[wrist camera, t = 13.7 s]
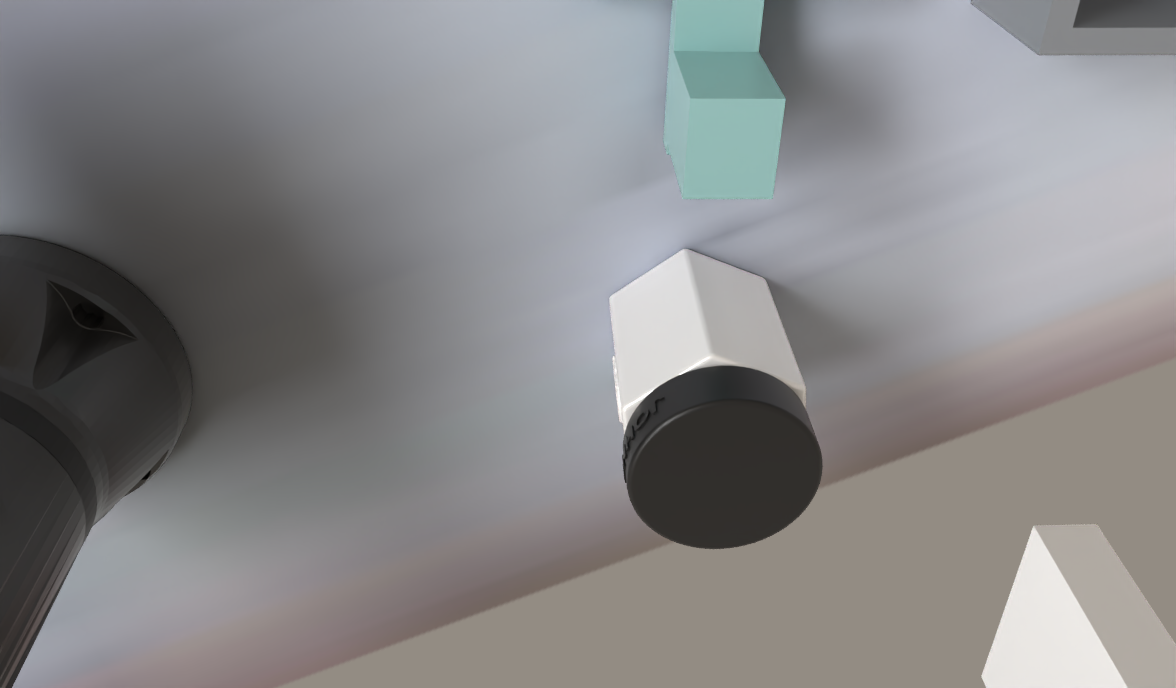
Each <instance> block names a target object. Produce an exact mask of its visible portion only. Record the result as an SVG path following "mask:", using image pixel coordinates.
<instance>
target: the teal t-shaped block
mask: <svg viewBox="0 0 1176 688" xmlns="http://www.w3.org/2000/svg"><path fill="white" fill-rule="evenodd" d="M763 8H764V0H672V11H671V27H670V43H669V59H668V74H667V90H666V106H665V122H664V138H663V142H664V146H665V150H666V153H667V155H671V158H672V162H673V166H674V169H675V173H676V177H677V180H678V184H679V188H680V191H681V195H682V199H773V193H774V185H775V177H776V170H777V162H778V155H779V147H780V139H781V132H782V124H783V116H784V109H785V101H786V98H785V97H784V95H783V93H782V91H781V90H780V88H779V86H778V85H777V83H776V81H775V79H774V78H773V76H772V74H771V72H770V71H769V69H768V67H767V65H766V64H765V62H764V60H763V59H762V57H761V55H760V53H759V44H760V35H761V26H762V17H763Z"/></svg>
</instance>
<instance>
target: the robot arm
mask: <svg viewBox="0 0 1176 688" xmlns="http://www.w3.org/2000/svg"><path fill="white" fill-rule="evenodd" d="M191 402H192V379H191V372H190V367H189V364H188V360H187V357H186V354H185V352H184V349H183V347H182V345H181V343H180V341H179V339H178V337H177V335H176V334H175V332H174V330H173V329H172V327H171V326H170V324H169V323H168V321H167V320H166V319H165V317H164V316H163V315H162V314H161V312H160V311H159V310H158V309H157V308H156V307H155V306H154V305H153V303H152V302H151V301H150V300H149V299H148V298H147V297H145V296H144V295H143V294H142V293H141V292H140V291H139V290H138V289H136V288H135V287H134V286H133V285H132V284H130V283H129V282H128V281H126V280H125V279H124V278H122V277H121V276H119V275H118V274H116V273H115V272H113V271H112V270H110V269H108V268H107V267H105V266H103V265H101V264H100V263H98V262H96V261H94V260H92V259H90V258H88V257H86V256H83V255H81V254H79V253H76V252H74V251H71V250H69V249H66V248H63V247H60V246H57V245H54V244H50V243H47V242H43V241H38V240H34V239H29V238H22V237H15V236H3V235H0V688H12V686H13V684H14V682H15V680H16V678H17V676H18V674H19V672H20V670H21V668H22V666H23V664H24V662H25V660H26V658H27V656H28V654H29V652H30V650H31V648H32V646H33V644H34V642H35V640H36V638H37V636H38V634H39V632H40V630H41V628H42V626H43V624H44V622H45V619H46V617H47V615H48V613H49V611H50V609H51V607H52V605H53V603H54V601H55V599H56V597H57V595H58V593H59V591H60V589H61V587H62V585H63V583H64V581H65V579H66V577H67V575H68V573H69V571H70V569H71V567H72V565H73V563H74V561H75V559H76V557H77V555H78V553H79V551H80V549H81V547H82V545H83V543H84V541H85V539H86V538H87V536H88V534H89V532H90V530H91V528H92V526H93V525H95V524H96V523H97V522H98V521H99V520H100V519H101V518H103V517H104V516H105V515H106V514H107V513H108V512H109V511H110V510H111V509H112V508H113V506H114V505H115V504H116V503H117V502H118V501H119V500H120V499H121V498H123V497H124V496H126V495H128V494H129V493H131V492H133V491H134V490H136V489H137V488H139V487H140V486H141V485H143V484H144V483H145V482H146V481H147V480H149V479H150V478H151V477H152V476H153V475H154V474H155V473H156V472H157V471H158V470H159V469H160V468H161V466H162V465H163V464H164V463H165V461H166V460H167V458H168V457H169V455H170V454H171V452H172V450H173V448H174V447H175V444H176V442H177V440H178V438H179V436H180V434H181V432H182V430H183V428H184V425H185V423H186V421H187V418H188V415H189V412H190V407H191ZM981 677H982V678H983V681H984V683H985V686H986V688H1176V644H1175V643H1174V641H1173V640H1172V638H1171V637H1170V635H1169V634H1168V632H1167V631H1166V629H1165V628H1164V626H1163V625H1162V623H1161V622H1160V620H1159V618H1158V617H1157V615H1156V614H1155V612H1154V611H1153V609H1152V608H1151V606H1150V605H1149V603H1148V602H1147V600H1146V599H1145V597H1144V596H1143V594H1142V593H1141V591H1140V589H1139V588H1138V586H1137V585H1136V583H1135V582H1134V580H1133V579H1132V577H1131V576H1130V574H1129V573H1128V571H1127V570H1126V568H1125V567H1124V565H1123V564H1122V562H1121V560H1120V559H1119V558H1118V556H1117V554H1116V553H1115V551H1114V550H1113V548H1112V547H1111V545H1110V544H1109V542H1108V541H1107V539H1106V538H1105V536H1104V535H1103V533H1102V531H1101V530H1100V528H1099V527H1098V525H1097V524H1085V525H1040V526H1033V529H1032V532H1031V535H1030V538H1029V541H1028V544H1027V546H1026V549H1025V552H1024V555H1023V558H1022V561H1021V564H1020V567H1019V569H1018V572H1017V575H1016V578H1015V581H1014V584H1013V587H1012V590H1011V593H1010V595H1009V598H1008V601H1007V604H1006V607H1005V610H1004V613H1003V616H1002V619H1001V622H1000V624H999V627H998V630H997V633H996V636H995V639H994V642H993V645H992V648H991V651H990V653H989V657H988V659H987V662H986V665H985V668H984V671H983V674H982V676H981Z"/></svg>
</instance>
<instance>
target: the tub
mask: <svg viewBox="0 0 1176 688" xmlns="http://www.w3.org/2000/svg"><path fill="white" fill-rule="evenodd" d="M971 4H972V5H974V6H975V7H976V8H977V9H979V10H980V11H981V12H983V13H984V14H985V15H987V16H988V17H989V18H990V19H992V20H993V21H994V22H996V23H997V24H998V25H1000V26H1001V27H1002V28H1004V29H1005V30H1006V31H1007V32H1009V33H1010V34H1011V35H1013V36H1014V37H1015V38H1017V39H1018V40H1019V41H1021V42H1022V43H1023V44H1024V45H1026V46H1027V47H1028V48H1030V49H1031V50H1032V51H1034V52H1035V53H1036V54H1037V55H1176V0H971Z"/></svg>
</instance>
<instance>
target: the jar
mask: <svg viewBox="0 0 1176 688" xmlns="http://www.w3.org/2000/svg"><path fill="white" fill-rule="evenodd" d="M609 305H610V314H611V323H612V332H613V341H614V350H615V355H614V356H613V357H612V360H613V370H614V380H615V389H616V398H617V406H618V415H619V422H621V423H623V430H624V440H623V453H624V455H622V459H623V471H624V479H625V483H627V490H628V494H629V498H630V501H631V503H632V505H633V507H634V509H635V511H636V513H637V514H638V516H639V517H640V518H641V519H642V521H643V522H644V523H645V524H646V525H647V526H649V527H650V528H651V529H652V530H654V531H655V532H657V533H658V534H660V535H661V536H663V537H665V538H667V539H669V540H671V541H674V542H676V543H679V544H683V545H687V546H691V547H696V548H705V549H724V548H733V547H739V546H743V545H747V544H751V543H755V542H757V541H760V540H763V539H765V538H767V537H770V536H772V535H774V534H775V533H777V532H779V531H781V530H782V529H784V528H785V527H787V526H788V525H789V524H790V523H792V522H793V521H794V520H795V519H796V518H797V517H799V516H800V515H801V514H802V512H803V511H804V510H805V509H806V508H807V506H808V505H809V504H810V502H811V500H812V499H813V497H814V496H815V494H816V492H817V489H818V487H819V484H820V480H821V476H822V455H821V450H820V447H819V444H818V441H817V439H816V436H815V433H814V430H813V428H812V425H811V422H810V419H809V417H808V414H807V411H806V386H805V383H804V381H803V378H802V375H801V373H800V370H799V367H798V365H797V362H796V359H795V356H794V354H793V351H792V348H791V346H790V343H789V340H788V338H787V335H786V332H785V330H784V327H783V324H782V322H781V319H780V316H779V314H778V311H777V308H776V306H775V303H774V300H773V298H772V295H771V292H770V290H769V287H768V284H767V282H766V280H765V279H764V278H762V277H760V276H757V275H755V274H752V273H749V272H747V271H744V270H741V269H739V268H736V267H733V266H731V265H728V264H726V263H723V262H720V261H718V260H715V259H712V258H710V257H707V256H705V255H702V254H699V253H697V252H694V251H691V250H689V249H682V250H681V251H679V252H678V253H676V254H675V255H673V256H671V257H670V258H668V259H667V260H665V261H664V262H662V263H661V264H659V265H658V266H656V267H654V268H653V269H651V270H650V271H648V272H647V273H645V274H644V275H642V276H641V277H639V278H637V279H636V280H634V281H633V282H631V283H630V284H628V285H627V286H625V287H624V288H622V289H620V290H619V291H617V292H616V293H614V294H613V295H611V296H610V298H609Z"/></svg>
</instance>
